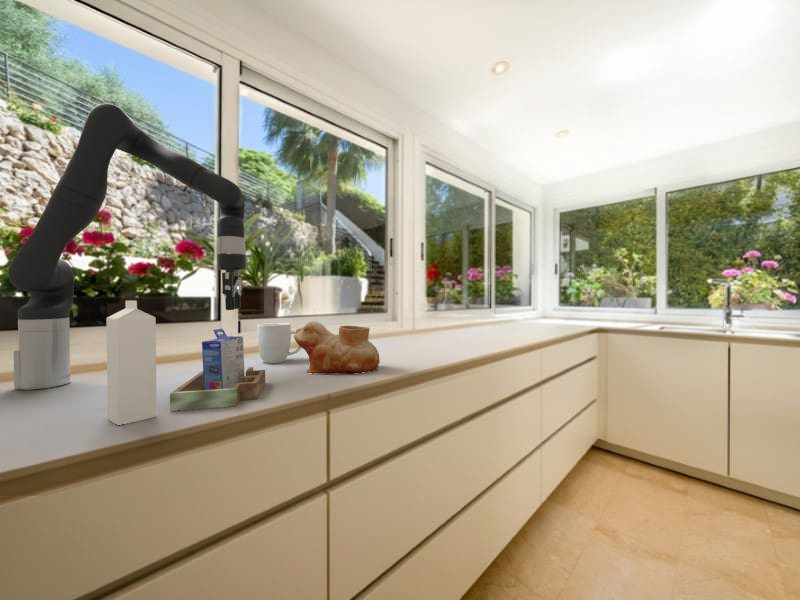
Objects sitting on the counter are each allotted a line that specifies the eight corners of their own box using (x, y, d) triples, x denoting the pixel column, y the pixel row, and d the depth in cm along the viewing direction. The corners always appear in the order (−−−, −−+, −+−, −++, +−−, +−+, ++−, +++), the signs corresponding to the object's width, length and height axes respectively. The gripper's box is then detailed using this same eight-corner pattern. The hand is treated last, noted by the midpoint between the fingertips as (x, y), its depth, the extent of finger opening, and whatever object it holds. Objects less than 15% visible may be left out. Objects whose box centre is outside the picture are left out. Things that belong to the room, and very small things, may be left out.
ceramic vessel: (302, 365, 115) (302, 319, 115) (381, 365, 114) (381, 319, 113) (287, 374, 101) (286, 323, 101) (377, 375, 100) (377, 322, 100)
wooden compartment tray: (170, 411, 69) (169, 393, 69) (204, 383, 91) (204, 369, 91) (254, 404, 73) (254, 387, 73) (267, 379, 95) (267, 366, 95)
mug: (301, 357, 129) (300, 322, 129) (303, 362, 119) (303, 324, 118) (257, 360, 124) (257, 323, 124) (256, 366, 113) (256, 325, 113)
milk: (145, 411, 69) (144, 300, 69) (157, 417, 66) (156, 300, 66) (106, 419, 65) (105, 300, 64) (117, 426, 61) (116, 300, 61)
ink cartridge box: (226, 381, 93) (225, 327, 93) (245, 381, 93) (245, 327, 92) (201, 391, 83) (200, 331, 83) (223, 392, 83) (222, 331, 82)
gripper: (223, 256, 107) (225, 309, 107) (210, 250, 93) (212, 310, 94) (249, 256, 109) (251, 308, 109) (241, 250, 95) (242, 310, 95)
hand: (233, 309), depth 101 cm, fingers open, 8 cm apart
